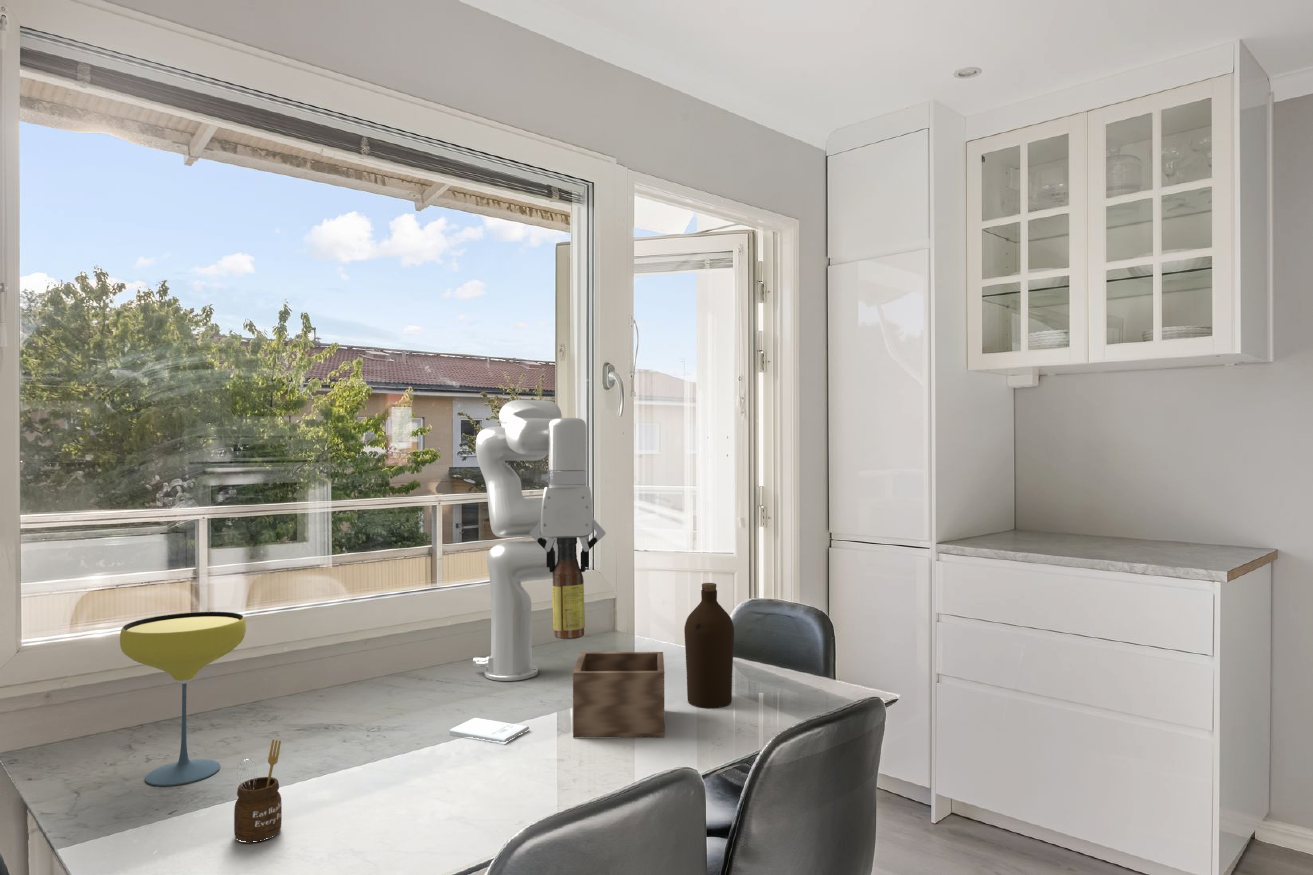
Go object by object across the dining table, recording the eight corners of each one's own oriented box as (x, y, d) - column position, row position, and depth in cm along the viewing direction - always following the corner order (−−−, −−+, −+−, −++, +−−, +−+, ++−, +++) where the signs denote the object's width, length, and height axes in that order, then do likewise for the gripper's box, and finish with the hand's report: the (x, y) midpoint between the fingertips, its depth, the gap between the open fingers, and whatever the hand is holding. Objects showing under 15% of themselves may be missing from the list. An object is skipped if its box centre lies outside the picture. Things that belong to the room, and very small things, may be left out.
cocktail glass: (164, 752, 144) (166, 611, 145) (265, 753, 144) (266, 611, 144) (90, 795, 126) (92, 633, 127) (205, 796, 126) (206, 633, 126)
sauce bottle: (589, 634, 164) (590, 535, 164) (576, 641, 158) (577, 538, 158) (560, 632, 166) (561, 534, 166) (546, 638, 160) (547, 537, 160)
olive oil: (736, 709, 168) (736, 587, 169) (685, 709, 168) (684, 587, 169) (732, 694, 179) (731, 579, 179) (684, 694, 179) (683, 580, 180)
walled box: (573, 737, 152) (573, 672, 152) (580, 710, 168) (580, 652, 168) (664, 737, 152) (664, 672, 152) (663, 710, 168) (663, 651, 168)
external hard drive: (476, 725, 161) (529, 733, 156) (449, 738, 153) (504, 747, 148) (476, 716, 161) (529, 725, 156) (449, 729, 153) (504, 738, 148)
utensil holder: (223, 840, 111) (224, 752, 112) (260, 821, 117) (261, 737, 118) (256, 847, 109) (257, 757, 110) (292, 827, 115) (293, 741, 115)
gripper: (521, 480, 159) (521, 573, 158) (609, 480, 159) (609, 573, 158) (528, 479, 166) (528, 568, 166) (612, 479, 166) (612, 568, 166)
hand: (567, 570), depth 162 cm, fingers closed on sauce bottle, 5 cm apart
